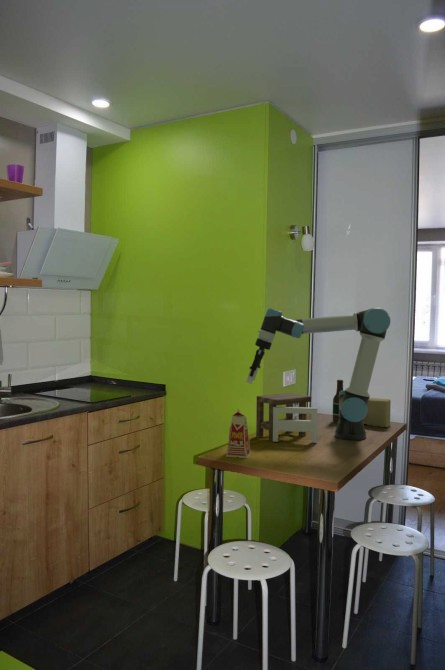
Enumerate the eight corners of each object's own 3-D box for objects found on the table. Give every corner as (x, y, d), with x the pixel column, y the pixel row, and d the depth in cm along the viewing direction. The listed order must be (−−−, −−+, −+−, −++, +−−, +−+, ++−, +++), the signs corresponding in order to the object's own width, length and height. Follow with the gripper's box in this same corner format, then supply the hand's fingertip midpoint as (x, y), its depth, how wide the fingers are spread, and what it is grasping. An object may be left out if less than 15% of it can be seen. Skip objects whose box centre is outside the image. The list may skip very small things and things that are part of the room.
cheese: (346, 424, 296) (346, 397, 296) (351, 421, 305) (351, 395, 304) (386, 428, 285) (387, 400, 285) (390, 425, 294) (391, 398, 293)
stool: (310, 437, 262) (311, 396, 261) (276, 442, 249) (277, 400, 248) (289, 431, 274) (289, 393, 274) (256, 436, 262) (256, 396, 261)
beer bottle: (338, 423, 297) (339, 381, 296) (329, 421, 303) (330, 379, 303) (349, 422, 300) (350, 380, 300) (340, 420, 307) (340, 379, 306)
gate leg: (316, 442, 247) (317, 408, 247) (272, 441, 249) (273, 407, 249) (316, 441, 250) (316, 407, 249) (272, 440, 251) (273, 406, 251)
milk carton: (247, 458, 220) (247, 410, 219) (225, 457, 222) (226, 409, 221) (250, 453, 229) (251, 406, 228) (229, 451, 231) (230, 406, 230)
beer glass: (288, 420, 306) (288, 394, 305) (300, 420, 306) (300, 394, 306) (290, 422, 299) (291, 396, 298) (302, 422, 299) (303, 396, 299)
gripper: (259, 336, 268) (245, 375, 269) (255, 338, 243) (239, 381, 245) (273, 341, 267) (259, 381, 268) (270, 343, 242) (255, 386, 244)
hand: (250, 381), depth 257 cm, fingers open, 13 cm apart
